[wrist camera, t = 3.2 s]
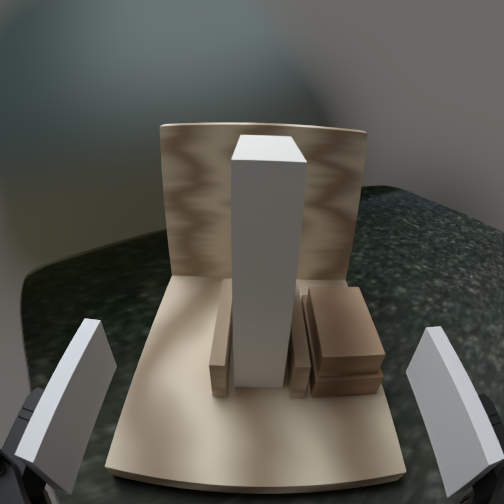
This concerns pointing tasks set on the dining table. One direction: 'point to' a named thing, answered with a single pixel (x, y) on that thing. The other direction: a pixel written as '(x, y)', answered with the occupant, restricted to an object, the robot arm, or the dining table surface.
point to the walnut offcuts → (341, 343)
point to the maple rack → (221, 338)
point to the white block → (264, 254)
